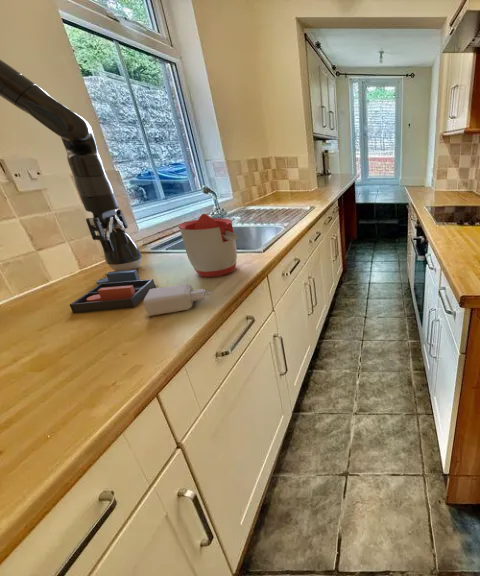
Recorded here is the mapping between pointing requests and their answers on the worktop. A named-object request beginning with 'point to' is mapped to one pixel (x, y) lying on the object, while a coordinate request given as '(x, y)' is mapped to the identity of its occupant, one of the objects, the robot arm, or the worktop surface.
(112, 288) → the terracotta spoon
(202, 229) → the citrus juicer
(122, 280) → the slate-blue spoon
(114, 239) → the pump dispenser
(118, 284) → the cutlery tray
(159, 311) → the charger
